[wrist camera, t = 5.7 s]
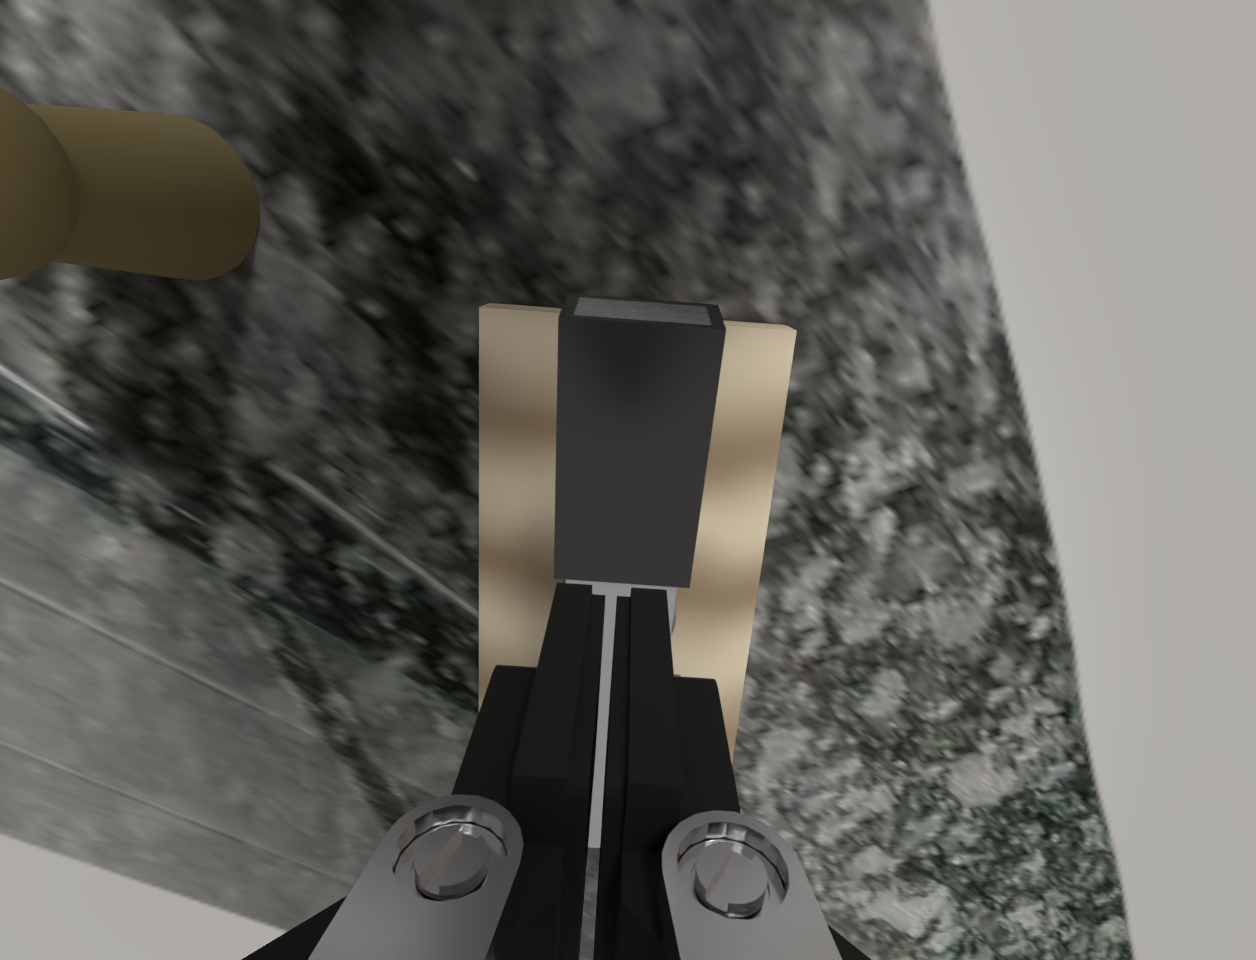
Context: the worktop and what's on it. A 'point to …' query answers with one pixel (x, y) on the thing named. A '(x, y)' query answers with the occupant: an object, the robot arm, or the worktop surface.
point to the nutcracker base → (525, 497)
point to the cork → (120, 192)
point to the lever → (631, 456)
